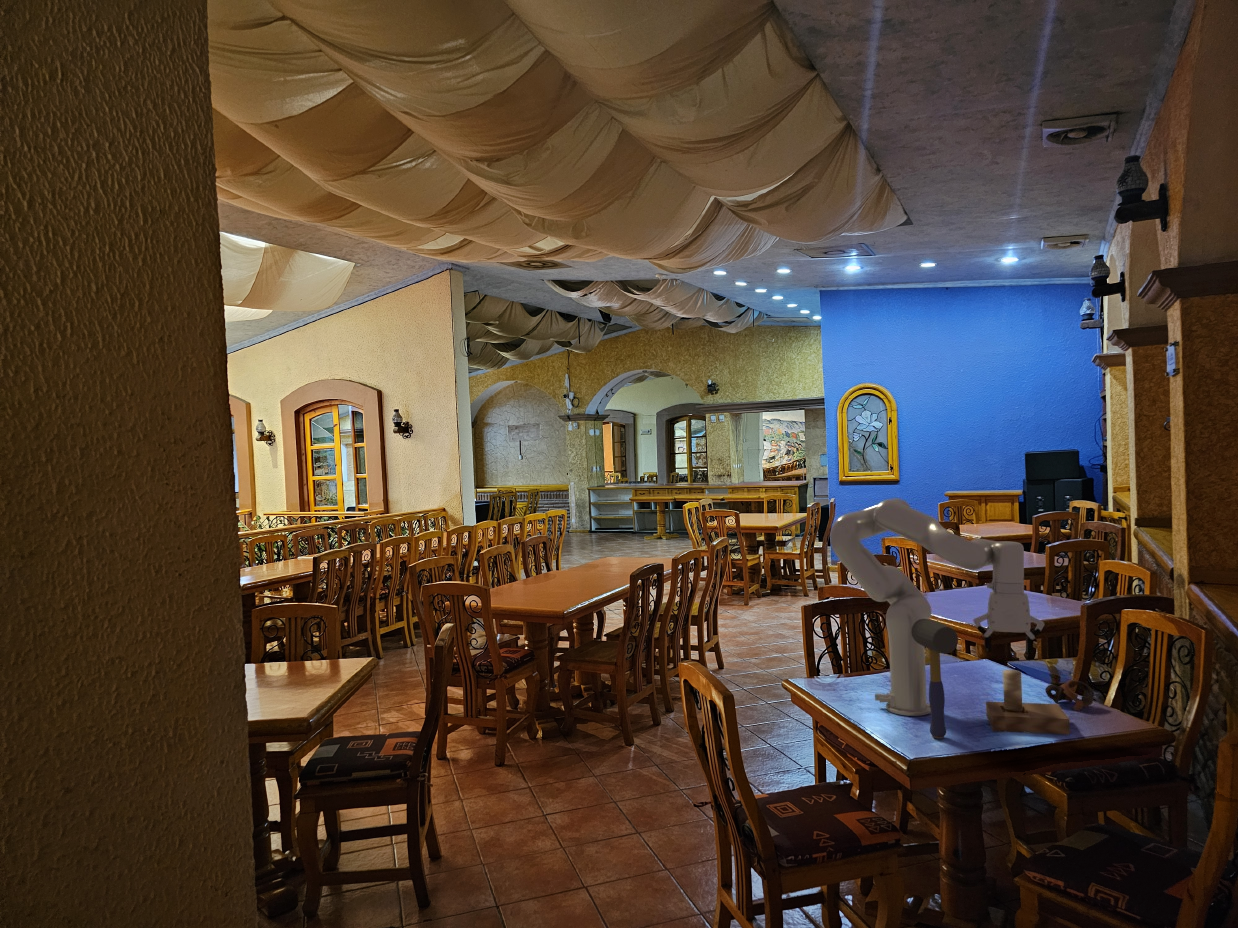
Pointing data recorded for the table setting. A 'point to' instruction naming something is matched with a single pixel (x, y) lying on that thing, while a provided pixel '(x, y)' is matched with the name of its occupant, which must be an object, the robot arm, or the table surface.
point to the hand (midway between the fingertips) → (1008, 651)
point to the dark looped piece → (1070, 694)
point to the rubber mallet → (935, 666)
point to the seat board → (1028, 718)
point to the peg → (1012, 691)
